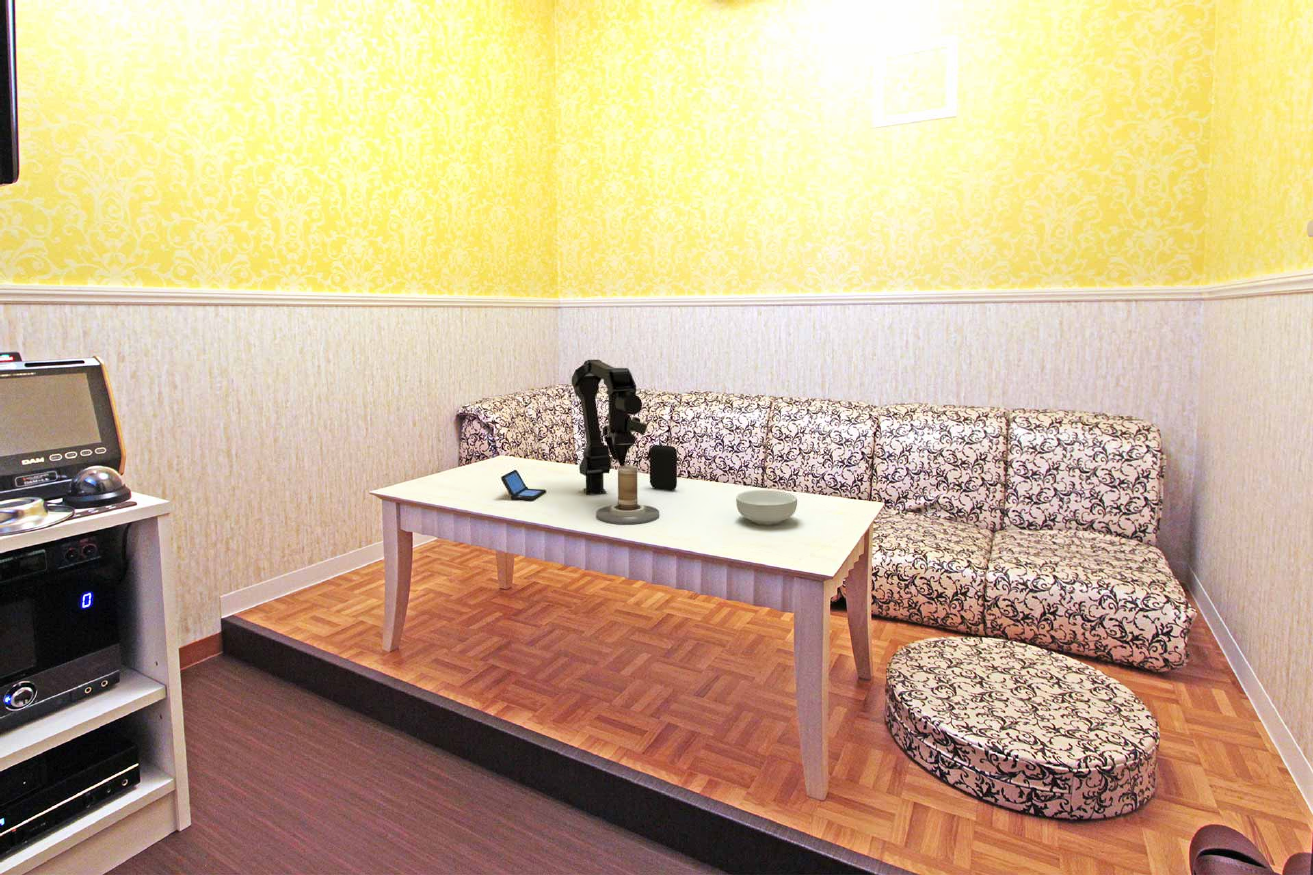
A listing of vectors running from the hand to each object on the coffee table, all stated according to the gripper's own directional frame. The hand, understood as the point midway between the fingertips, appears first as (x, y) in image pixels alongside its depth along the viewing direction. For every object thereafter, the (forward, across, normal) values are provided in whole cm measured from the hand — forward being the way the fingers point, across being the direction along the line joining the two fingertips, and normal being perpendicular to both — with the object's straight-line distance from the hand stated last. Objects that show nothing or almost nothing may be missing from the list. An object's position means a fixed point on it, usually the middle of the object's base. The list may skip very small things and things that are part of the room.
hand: (618, 462), depth 216 cm
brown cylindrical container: (+12, -12, 0) cm, 17 cm away
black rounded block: (+13, +16, -18) cm, 27 cm away
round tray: (+13, -12, 0) cm, 18 cm away
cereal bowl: (+13, -27, -36) cm, 47 cm away
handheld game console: (+13, +19, +26) cm, 35 cm away
